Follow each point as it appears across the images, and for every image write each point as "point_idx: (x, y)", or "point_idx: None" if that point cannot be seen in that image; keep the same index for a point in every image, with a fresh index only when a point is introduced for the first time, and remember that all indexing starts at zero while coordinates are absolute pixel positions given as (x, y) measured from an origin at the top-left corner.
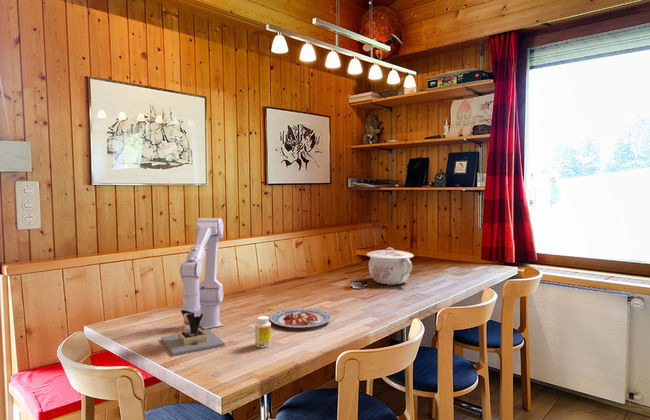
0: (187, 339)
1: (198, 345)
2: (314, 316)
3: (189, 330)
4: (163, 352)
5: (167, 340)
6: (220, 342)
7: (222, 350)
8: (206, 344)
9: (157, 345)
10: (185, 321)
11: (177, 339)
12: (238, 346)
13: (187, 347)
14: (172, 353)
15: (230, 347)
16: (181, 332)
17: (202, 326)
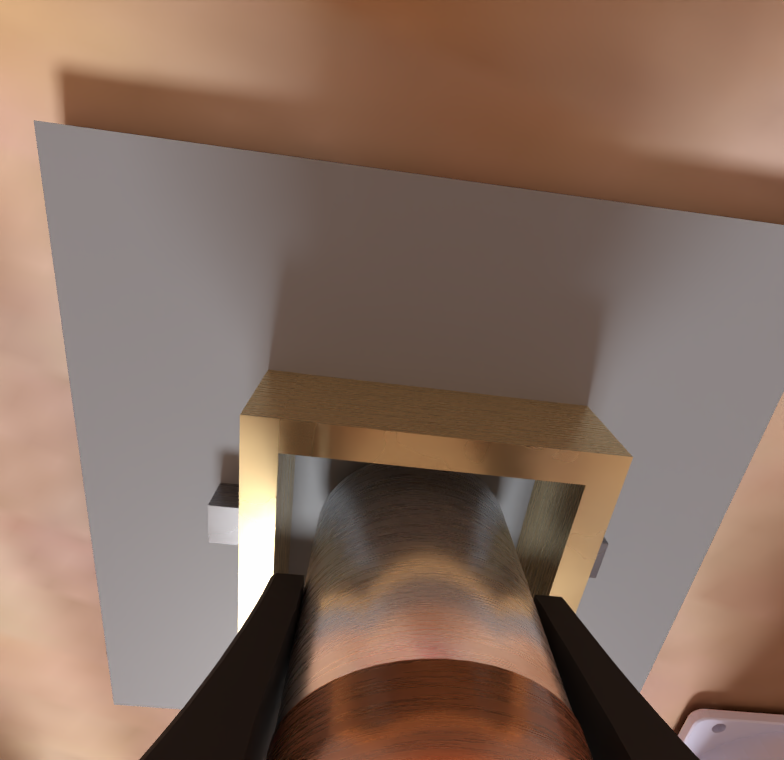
0: (245, 458)
1: (177, 507)
2: None
3: (316, 600)
4: (303, 56)
5: (646, 265)
6: (148, 686)
7: (9, 624)
8: (163, 578)
9: (663, 94)
10: (385, 758)
11: (572, 394)
12: (52, 739)
13: (177, 383)
14: (91, 128)
15: (58, 693)
16: (580, 496)
17: (758, 726)
